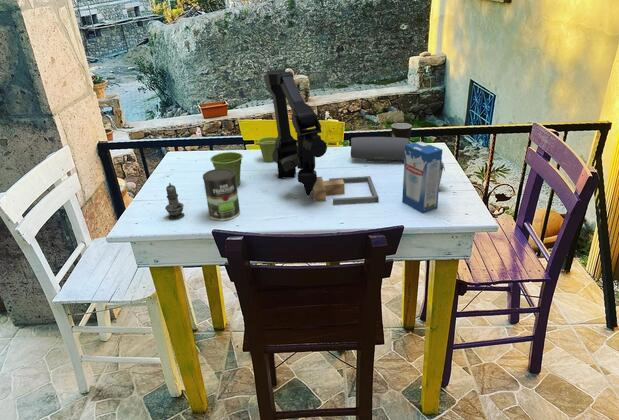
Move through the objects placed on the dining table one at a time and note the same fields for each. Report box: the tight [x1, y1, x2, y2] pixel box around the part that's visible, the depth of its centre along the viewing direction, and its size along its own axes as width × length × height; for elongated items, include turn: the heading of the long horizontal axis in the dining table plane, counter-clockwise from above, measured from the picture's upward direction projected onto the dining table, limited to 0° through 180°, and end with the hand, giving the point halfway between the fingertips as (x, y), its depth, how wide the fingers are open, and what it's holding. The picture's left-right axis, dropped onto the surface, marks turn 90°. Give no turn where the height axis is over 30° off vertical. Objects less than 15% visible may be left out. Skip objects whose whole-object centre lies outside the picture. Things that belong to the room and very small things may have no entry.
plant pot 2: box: [257, 136, 278, 163], centre depth 191 cm, size 9×9×9 cm
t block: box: [311, 176, 346, 203], centre depth 159 cm, size 11×12×4 cm
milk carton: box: [401, 140, 443, 214], centre depth 144 cm, size 10×6×20 cm, turn 29°
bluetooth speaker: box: [350, 136, 410, 163], centre depth 184 cm, size 23×9×10 cm, turn 80°
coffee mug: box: [390, 122, 413, 141], centre depth 197 cm, size 12×9×10 cm
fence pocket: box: [328, 175, 380, 206], centre depth 159 cm, size 15×18×2 cm
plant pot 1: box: [209, 151, 244, 187], centre depth 168 cm, size 12×12×11 cm
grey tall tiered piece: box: [164, 182, 185, 221], centre depth 147 cm, size 6×6×12 cm
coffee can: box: [202, 168, 241, 222], centre depth 147 cm, size 10×10×14 cm
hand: (307, 190), depth 159 cm, fingers open, 9 cm apart
